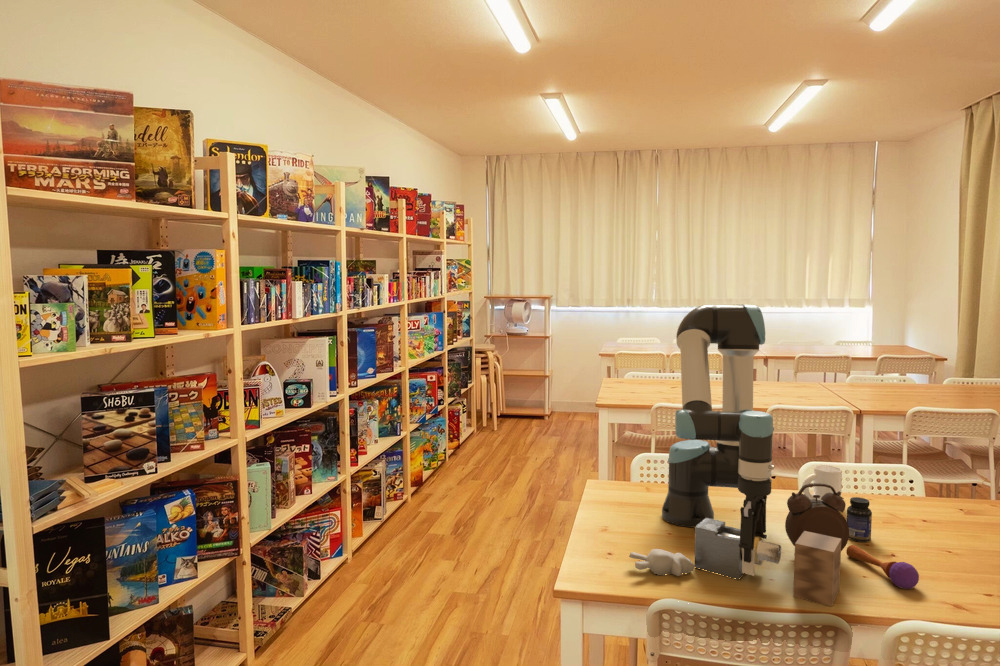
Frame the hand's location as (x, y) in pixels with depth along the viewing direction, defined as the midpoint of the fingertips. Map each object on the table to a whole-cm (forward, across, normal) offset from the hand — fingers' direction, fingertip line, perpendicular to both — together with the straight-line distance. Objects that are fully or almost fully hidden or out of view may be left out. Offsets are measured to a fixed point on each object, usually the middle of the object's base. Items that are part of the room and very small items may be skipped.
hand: (752, 568), depth 161 cm
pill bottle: (+2, +41, -17) cm, 44 cm away
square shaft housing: (+2, 0, +8) cm, 8 cm away
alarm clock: (+2, +20, -10) cm, 22 cm away
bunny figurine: (+2, -10, +19) cm, 22 cm away
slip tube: (-2, 0, +4) cm, 4 cm away
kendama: (+3, +20, -25) cm, 32 cm away
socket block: (+2, 0, -14) cm, 15 cm away
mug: (+2, +63, -3) cm, 63 cm away
